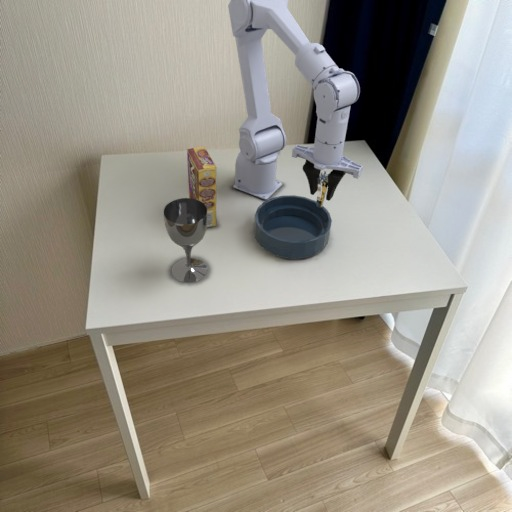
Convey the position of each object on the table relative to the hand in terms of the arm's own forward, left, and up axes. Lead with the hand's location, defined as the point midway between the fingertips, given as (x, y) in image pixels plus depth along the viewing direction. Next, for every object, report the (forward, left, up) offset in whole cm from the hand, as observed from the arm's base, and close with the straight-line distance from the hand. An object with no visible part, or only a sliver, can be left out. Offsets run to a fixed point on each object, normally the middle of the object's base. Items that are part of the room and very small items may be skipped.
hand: (321, 195), depth 109 cm
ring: (0, 0, -3) cm, 3 cm away
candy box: (-24, -10, -10) cm, 27 cm away
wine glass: (-16, -26, -10) cm, 32 cm away
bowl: (-4, -5, -10) cm, 11 cm away
